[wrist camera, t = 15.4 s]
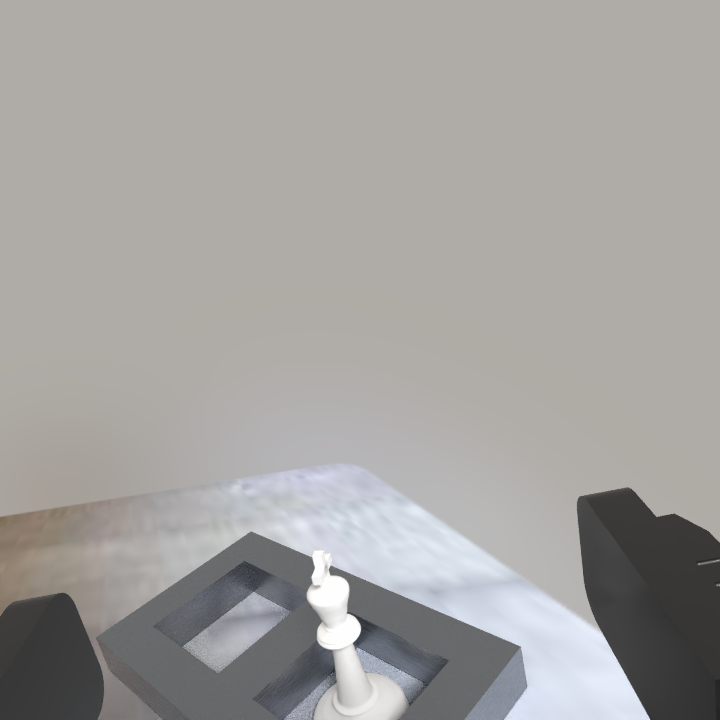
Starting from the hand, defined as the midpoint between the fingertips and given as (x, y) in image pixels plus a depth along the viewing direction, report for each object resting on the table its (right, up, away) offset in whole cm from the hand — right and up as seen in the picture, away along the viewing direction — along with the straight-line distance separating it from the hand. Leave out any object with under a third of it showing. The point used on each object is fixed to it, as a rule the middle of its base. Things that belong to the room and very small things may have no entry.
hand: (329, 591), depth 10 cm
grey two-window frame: (-3, -14, +26) cm, 29 cm away
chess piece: (+1, -15, +22) cm, 26 cm away
